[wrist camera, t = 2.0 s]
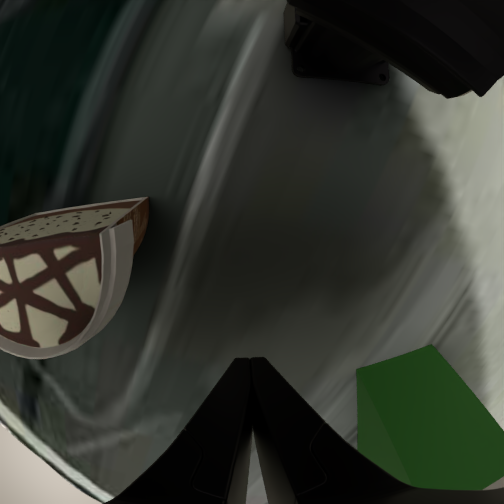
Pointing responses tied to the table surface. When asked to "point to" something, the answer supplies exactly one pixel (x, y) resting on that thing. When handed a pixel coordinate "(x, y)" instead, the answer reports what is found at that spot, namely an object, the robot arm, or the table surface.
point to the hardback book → (427, 424)
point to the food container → (66, 274)
